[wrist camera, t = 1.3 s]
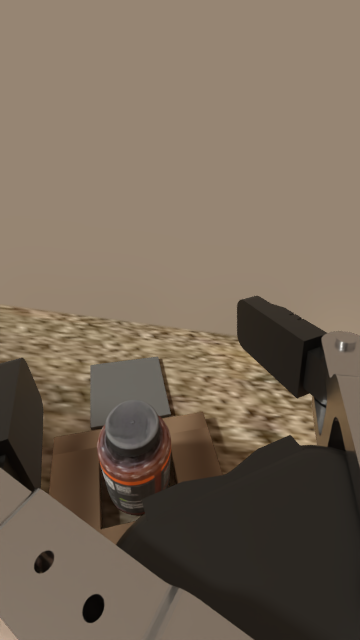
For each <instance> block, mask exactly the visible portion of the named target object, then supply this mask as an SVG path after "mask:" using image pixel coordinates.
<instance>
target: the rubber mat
mask: <svg viewBox="0 0 360 640" xmlns="http://www.w3.org/2000/svg"><path fill="white" fill-rule="evenodd" d="M129 400H139V401H143V402H146V403H148V404H150V405H151V406H152V407H153V408H154V409H155V411H156V412H157V414H158V415H159V416H160V417H161V418H163V417H169V416H171V413H170V408H169V404H168V399H167V395H166V390H165V386H164V381H163V377H162V372H161V368H160V363H159V359H158V357H151V358H143V359H136V360H128V361H120V362H112V363H104V364H96V365H91V430H93V429H99V428H103V427H104V425H105V423H106V419H107V417H108V415H109V413H110V412H111V411H112V409H114V408H115V407H116V406H117V405H119V404H120V403H123V402H125V401H129Z"/></svg>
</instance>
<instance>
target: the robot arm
mask: <svg viewBox="0 0 360 640" xmlns="http://www.w3.org/2000/svg"><path fill="white" fill-rule="evenodd" d="M237 336H238V340H239V343H240V345H241V346H242V348H243V349H244V350H245V351H246V352H247V353H249V354H250V355H251V356H252V357H253V358H254V359H255V360H256V361H257V362H258V363H259V364H260V365H261V366H263V367H264V368H265V369H266V370H267V371H268V372H269V373H270V374H271V375H272V376H273V377H274V378H275V379H277V380H278V381H279V382H280V383H281V384H282V385H283V386H284V387H285V388H286V389H287V390H288V391H289V392H291V393H292V394H293V395H294V396H295V397H296V398H299V397H302V396H304V395H307V394H309V393H310V394H311V395H312V396H313V397H312V411H313V419H314V427H315V435H316V443H317V446H316V445H302V446H300V445H299V444H298V443H297V442H296V441H295V440H294V438H293V437H292V436H291V435H289V436H287V437H285V438H282V439H280V440H278V441H275V442H273V443H271V444H268V445H266V446H264V447H261V448H259V449H257V450H256V451H255V452H254V453H252V454H251V455H250V456H249V457H248V458H246V459H245V460H244V461H243V462H242V463H240V464H239V465H238V466H237V467H235V468H234V469H233V470H232V471H231V472H229V473H227V474H225V475H220V476H214V477H208V478H202V479H196V480H190V481H183V482H180V483H178V484H176V485H173V486H171V487H169V488H167V489H164V490H162V491H160V492H157V493H155V494H153V495H150V496H148V497H146V498H143V499H141V500H142V504H143V508H144V511H145V514H144V515H142V516H141V517H140V518H139V519H137V520H136V521H135V522H134V523H133V524H132V525H131V526H130V527H129V528H128V529H127V530H126V532H125V533H124V534H123V535H122V537H121V538H120V539H119V540H118V542H117V543H116V545H115V544H114V543H112V542H111V541H110V540H108V539H107V538H106V537H104V536H103V535H102V534H100V533H99V532H98V531H96V530H95V529H94V528H92V527H91V526H90V525H88V524H87V523H86V522H84V521H83V520H82V519H80V518H79V517H78V516H76V515H75V514H74V513H72V512H71V511H70V510H69V509H67V508H66V507H65V506H63V505H62V504H61V503H59V502H58V501H57V500H55V499H54V498H53V497H51V496H50V495H49V494H47V493H46V492H44V491H43V490H41V464H42V435H43V404H42V399H41V396H40V393H39V391H38V388H37V386H36V384H35V381H34V379H33V377H32V374H31V372H30V370H29V367H28V365H27V363H26V361H25V359H24V358H19V359H16V360H12V361H8V362H4V363H1V364H0V618H1V619H2V620H3V621H4V623H5V624H6V625H7V626H8V628H9V629H10V630H11V631H12V633H13V634H14V635H15V636H16V637H17V639H18V640H360V336H359V335H357V334H354V333H350V332H342V331H336V332H330V333H326V332H325V331H323V330H321V329H320V328H318V327H316V326H315V325H313V324H311V323H309V322H308V321H306V320H304V319H301V317H299V316H298V315H296V314H295V315H294V314H293V313H292V312H291V311H289V310H287V309H286V308H284V307H280V306H277V305H274V304H271V303H269V302H267V301H266V300H264V299H263V298H261V297H259V296H254V297H250V298H246V299H242V300H240V301H239V302H238V305H237Z"/></svg>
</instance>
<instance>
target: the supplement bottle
mask: <svg viewBox="0 0 360 640" xmlns="http://www.w3.org/2000/svg"><path fill="white" fill-rule="evenodd" d="M97 453H98V458H99V461H100V465H101V469H102V472H103V476H104V479H105V482H106V486H107V489H108V492H109V495H110V498H111V500H112V502H113V503H114V504H115V506H116V507H117V508H118V509H119V510H121V511H123V512H125V513H127V514H131V515H140V514H145V511H144V508H143V504H142V500H141V499H143V498H146V497H148V496H150V495H153V494H155V493H157V492H160V491H162V490H164V489H167V488H168V485H169V477H170V458H171V436H170V432H169V429H168V427H167V425H166V423H165V422H164V420H163V419H162V418H161V417H160V416H159V415H158V414H157V412H156V411H155V409H154V408H153V407H152V406H151V405H150V404H148V403H146V402H143V401H139V400H129V401H125V402H123V403H120V404H119V405H117V406H116V407H115V408H114V409H112V411H111V412H110V413H109V415H108V417H107V419H106V423H105V425H104V427H103V428H102V430H101V432H100V435H99V438H98V442H97Z"/></svg>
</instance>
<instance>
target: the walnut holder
mask: <svg viewBox="0 0 360 640" xmlns="http://www.w3.org/2000/svg"><path fill="white" fill-rule="evenodd" d="M163 420H164V422H165V423H166V425H167V427H168V429H169V432H170V436H171V460H172V465H173V470H174V475H175V480H176V484H178V483H180V482H183V481H190V480H196V479H202V478H208V477H214V476H220V475H223V474H222V471H221V468H220V465H219V461H218V458H217V455H216V452H215V449H214V446H213V442H212V439H211V436H210V433H209V430H208V426H207V423H206V420H205V417H204V414H203V412H199V413H193V414H187V415H181V416H175V417H170V418H164V419H163ZM101 430H102V429H99V430H94V431H88V432H82V433H76V434H70V435H64V436H58V437H54V444H53V455H52V466H51V476H50V487H49V495H50V496H51V497H53V498H54V499H55V500H57V501H58V502H59V503H61V504H62V505H63V506H65V507H66V508H67V509H69V510H70V511H71V512H72V513H74V514H75V515H76V516H78V517H79V518H80V519H82V520H83V521H84V522H86V523H87V524H88V525H90V526H91V527H92V528H94V529H95V530H96V531H98V532H99V533H100V534H102V535H103V536H104V537H106V538H107V539H108V540H110V541H111V542H112V543H114V544H115V545H116V543H117V542H118V540H119V539H120V538H121V537H122V535H123V534H124V533H125V532H126V530H127V529H128V528H129V527H130V526H131V525H132V524H133V523H134V522H135V521H133V522H129V523H125V524H121V525H117V526H112V527H108V528H104V529H102V506H101V465H100V461H99V458H98V453H97V442H98V438H99V435H100V432H101Z"/></svg>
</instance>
